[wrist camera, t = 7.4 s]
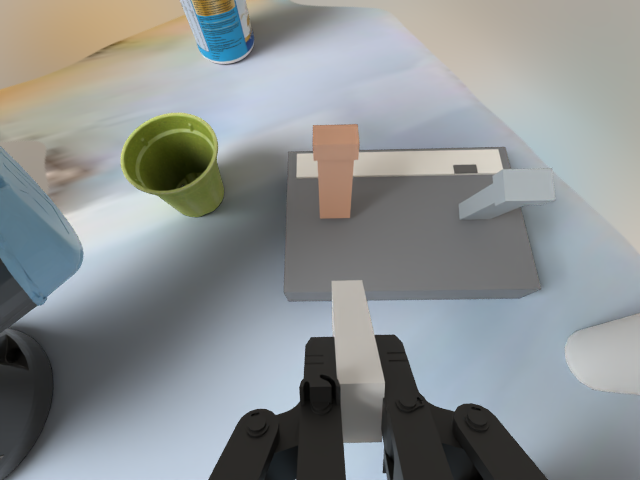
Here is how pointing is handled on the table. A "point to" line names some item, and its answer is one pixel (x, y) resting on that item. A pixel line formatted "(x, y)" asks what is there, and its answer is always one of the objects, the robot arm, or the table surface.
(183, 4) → the beverage bottle
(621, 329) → the white paper cup
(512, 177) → the slate lever
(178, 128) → the plant pot
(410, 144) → the table surface
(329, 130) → the terracotta lever
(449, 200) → the switch unit
